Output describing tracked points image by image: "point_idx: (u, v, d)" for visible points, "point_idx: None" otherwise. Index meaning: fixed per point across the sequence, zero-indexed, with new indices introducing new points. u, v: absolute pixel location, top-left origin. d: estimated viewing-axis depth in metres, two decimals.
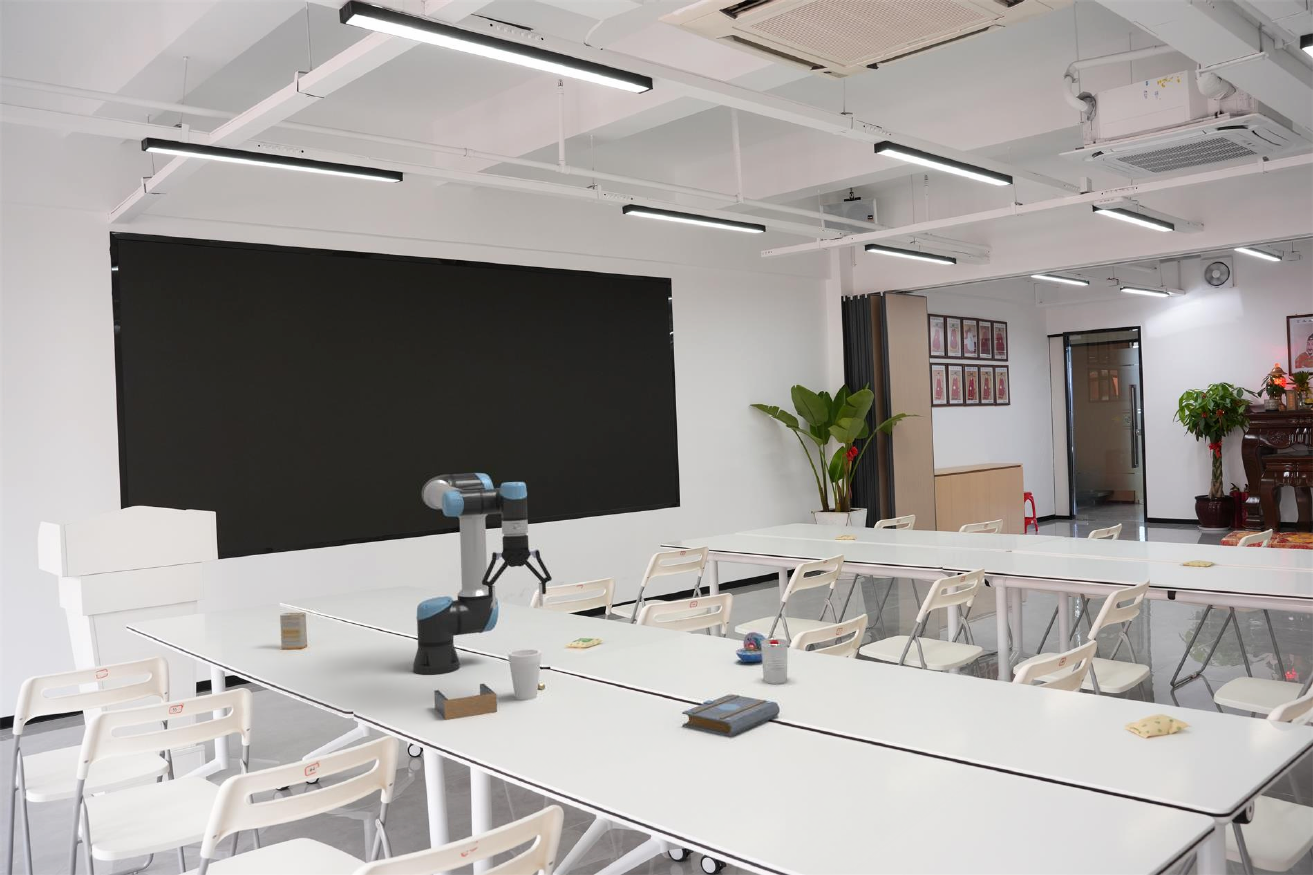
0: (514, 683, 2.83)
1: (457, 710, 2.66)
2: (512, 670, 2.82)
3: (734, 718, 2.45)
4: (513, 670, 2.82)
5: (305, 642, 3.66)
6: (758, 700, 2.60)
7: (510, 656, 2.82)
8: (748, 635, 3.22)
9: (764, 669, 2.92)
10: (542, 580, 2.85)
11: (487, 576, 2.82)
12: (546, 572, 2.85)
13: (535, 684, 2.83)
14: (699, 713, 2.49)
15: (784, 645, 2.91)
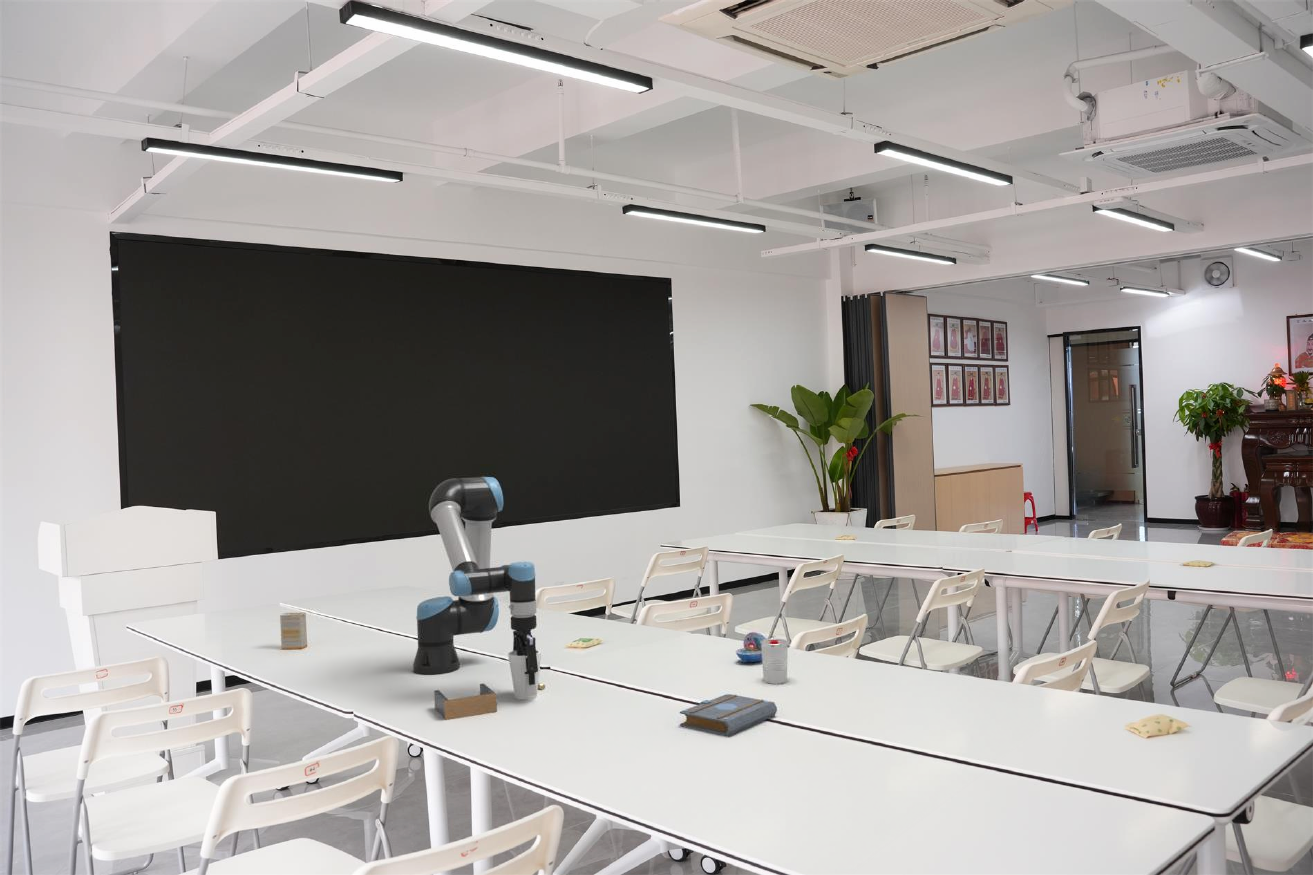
0: (514, 683, 2.83)
1: (457, 710, 2.66)
2: (512, 670, 2.82)
3: (732, 717, 2.45)
4: (513, 670, 2.82)
5: (305, 642, 3.66)
6: (755, 700, 2.60)
7: (510, 656, 2.82)
8: (748, 635, 3.22)
9: (764, 669, 2.92)
10: (527, 670, 2.79)
11: None
12: (528, 663, 2.78)
13: None
14: (697, 713, 2.50)
15: (784, 645, 2.91)
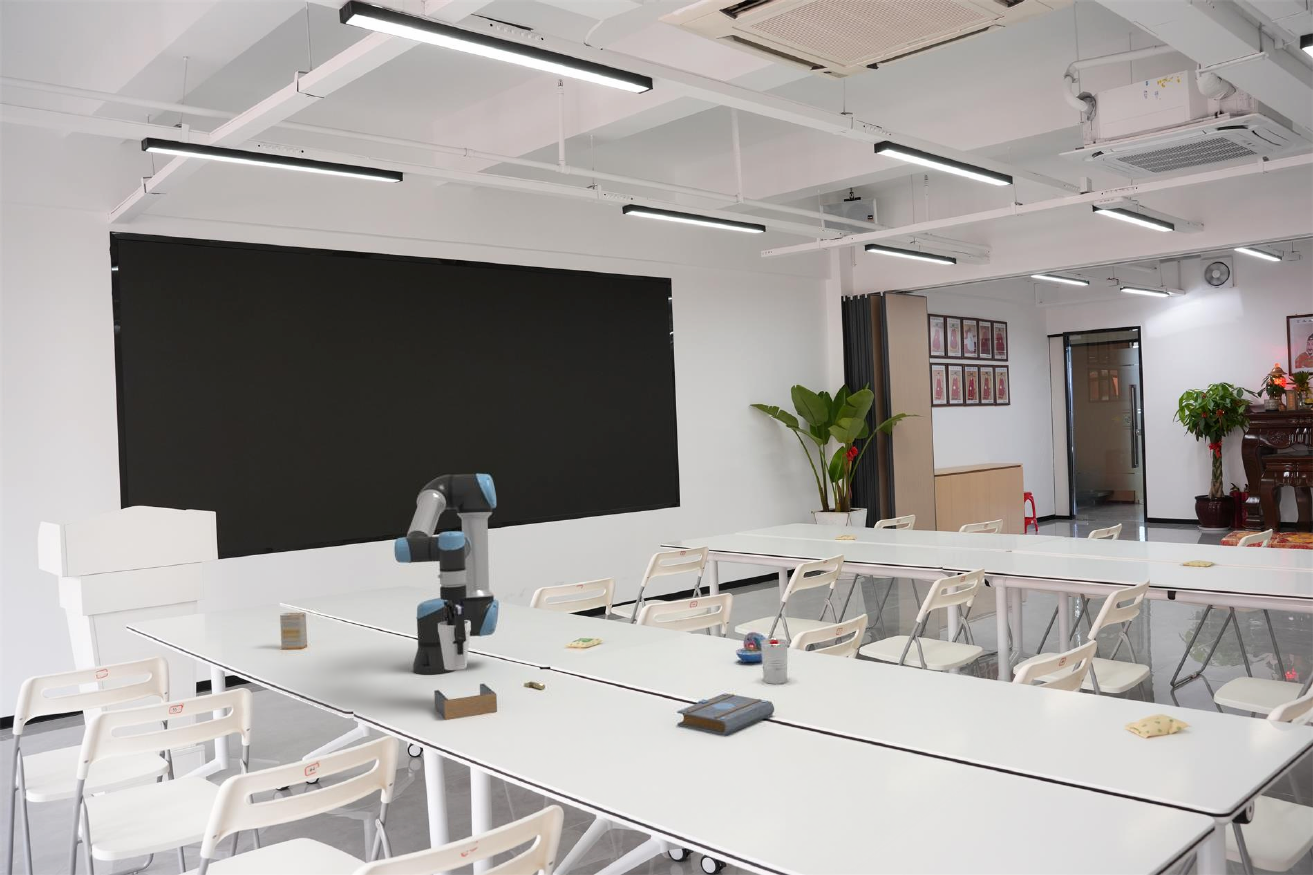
0: (443, 653, 2.80)
1: (457, 710, 2.66)
2: (441, 640, 2.80)
3: (729, 716, 2.46)
4: (442, 640, 2.79)
5: (305, 642, 3.66)
6: (753, 699, 2.61)
7: (439, 626, 2.79)
8: (748, 635, 3.22)
9: (764, 669, 2.92)
10: (455, 640, 2.76)
11: None
12: (456, 632, 2.75)
13: (464, 654, 2.80)
14: (694, 712, 2.50)
15: (784, 645, 2.91)
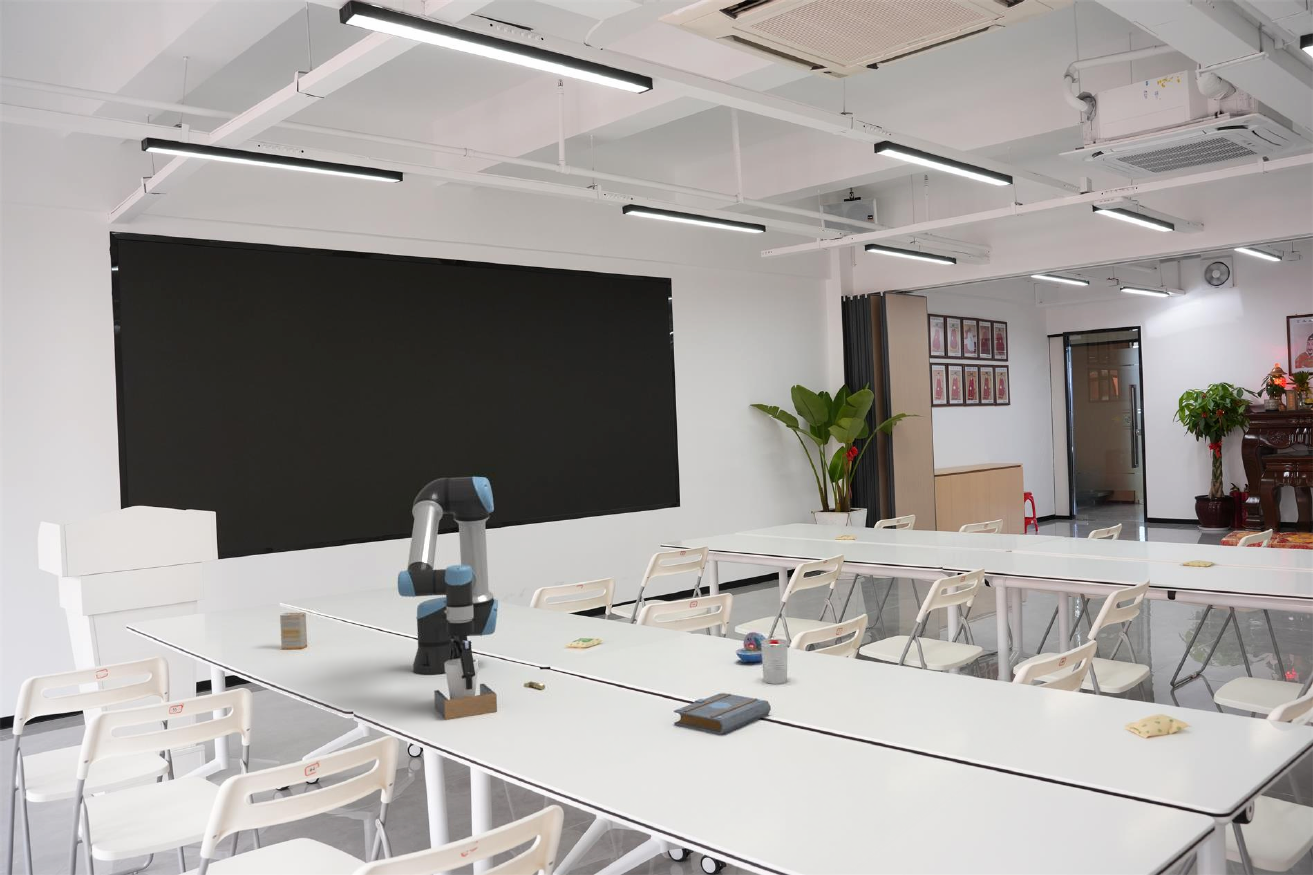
0: (450, 693, 2.74)
1: (457, 710, 2.66)
2: (448, 680, 2.73)
3: (726, 716, 2.46)
4: (449, 680, 2.73)
5: (305, 642, 3.66)
6: (749, 698, 2.62)
7: (446, 665, 2.73)
8: (748, 635, 3.22)
9: (764, 669, 2.92)
10: (463, 674, 2.69)
11: (450, 655, 2.83)
12: (464, 667, 2.68)
13: None
14: (691, 712, 2.51)
15: (784, 645, 2.91)
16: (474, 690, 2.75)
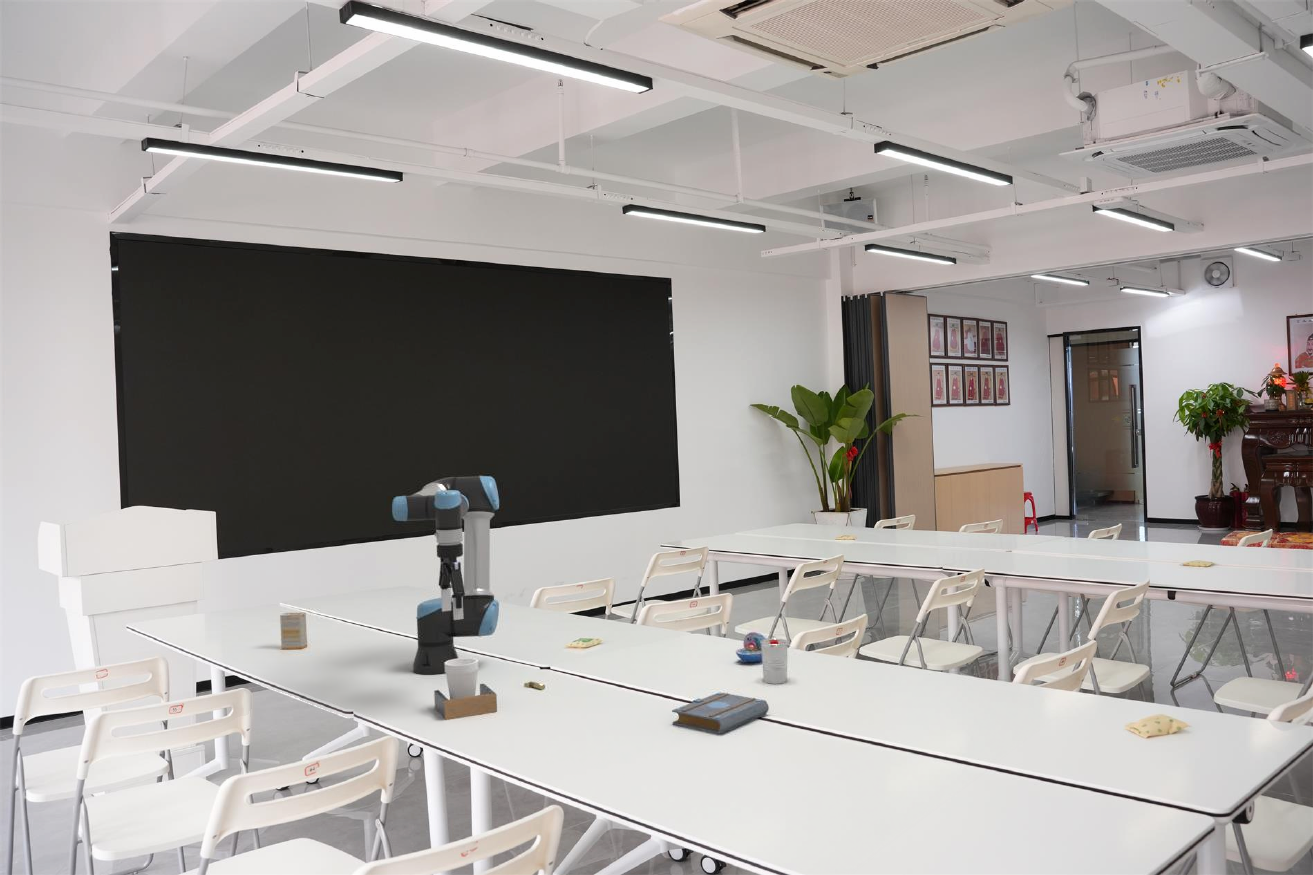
0: (450, 693, 2.74)
1: (457, 710, 2.66)
2: (448, 680, 2.73)
3: (724, 715, 2.47)
4: (449, 680, 2.73)
5: (305, 642, 3.66)
6: (747, 698, 2.62)
7: (446, 665, 2.73)
8: (748, 635, 3.22)
9: (764, 669, 2.92)
10: (453, 594, 2.78)
11: (439, 578, 2.92)
12: (454, 587, 2.77)
13: (472, 694, 2.74)
14: (689, 711, 2.51)
15: (784, 645, 2.91)
16: (474, 690, 2.75)
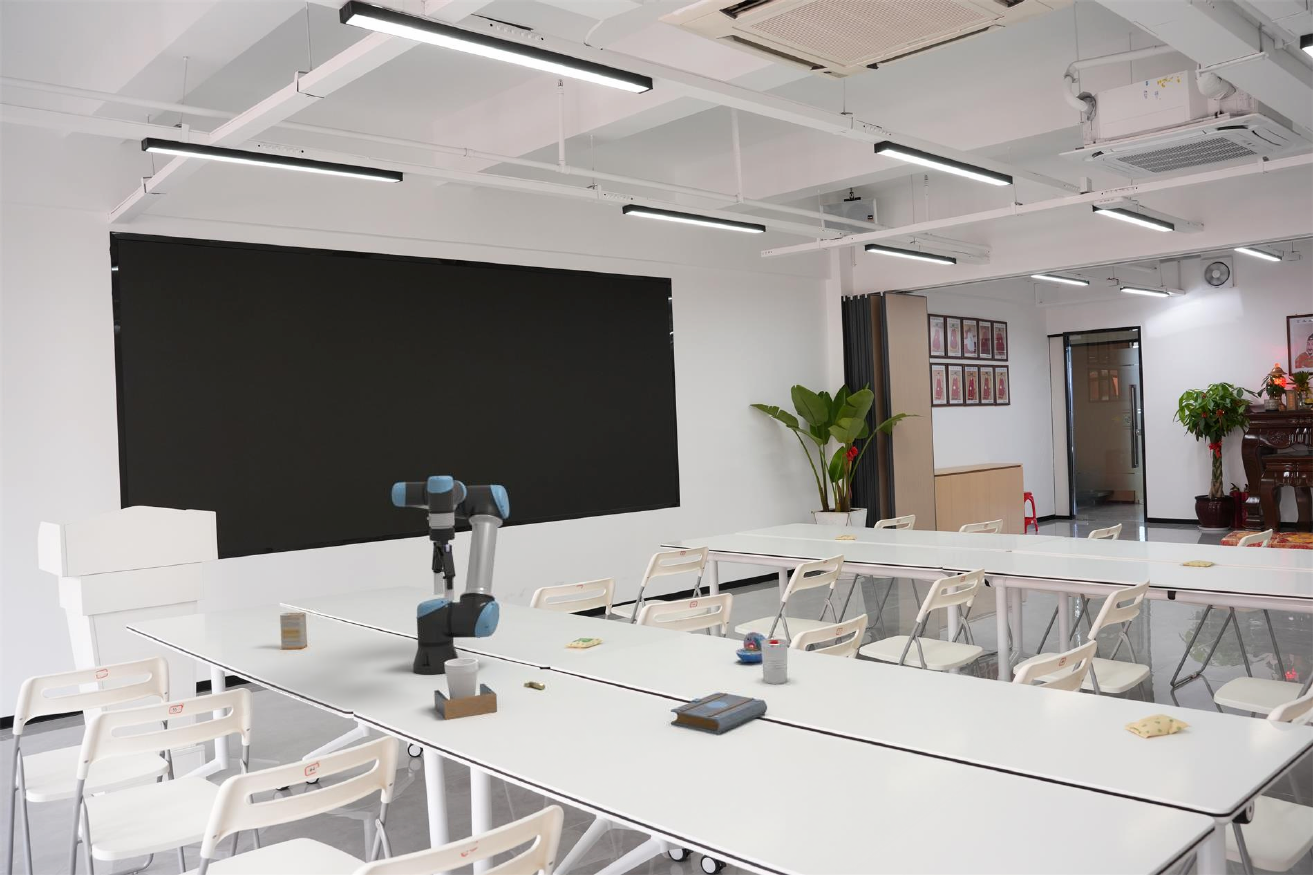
0: (450, 693, 2.74)
1: (457, 710, 2.66)
2: (448, 680, 2.73)
3: (722, 715, 2.47)
4: (449, 680, 2.73)
5: (305, 642, 3.66)
6: (746, 698, 2.62)
7: (446, 665, 2.73)
8: (748, 635, 3.22)
9: (764, 669, 2.92)
10: None
11: (432, 562, 3.00)
12: (445, 568, 2.85)
13: (472, 694, 2.74)
14: (688, 711, 2.52)
15: (784, 645, 2.91)
16: (474, 690, 2.75)
